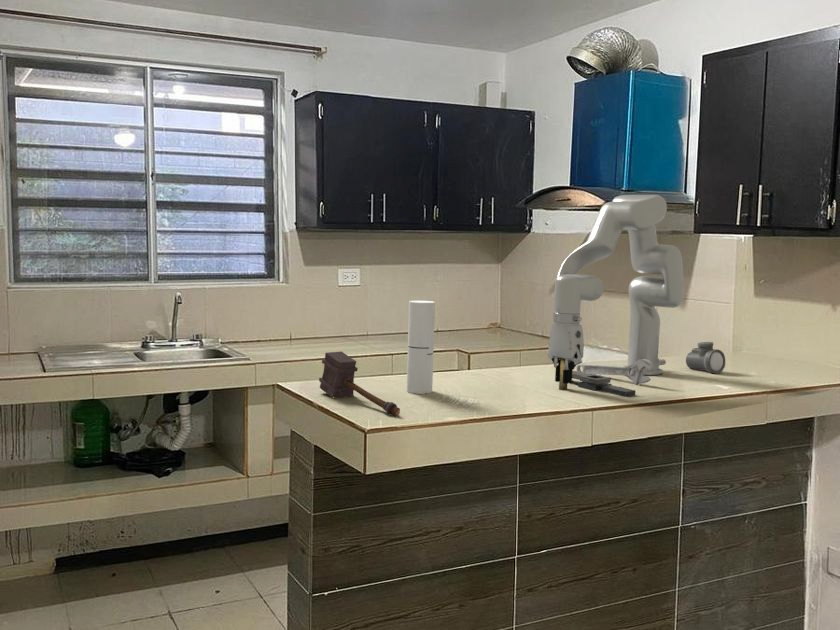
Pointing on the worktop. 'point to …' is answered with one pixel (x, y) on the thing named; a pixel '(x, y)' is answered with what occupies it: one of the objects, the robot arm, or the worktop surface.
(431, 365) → the cylindrical container
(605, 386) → the bar
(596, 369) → the wrench
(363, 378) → the worktop surface
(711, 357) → the pipe fitting
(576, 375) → the chain end
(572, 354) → the robot arm
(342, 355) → the hammer
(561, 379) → the pin
